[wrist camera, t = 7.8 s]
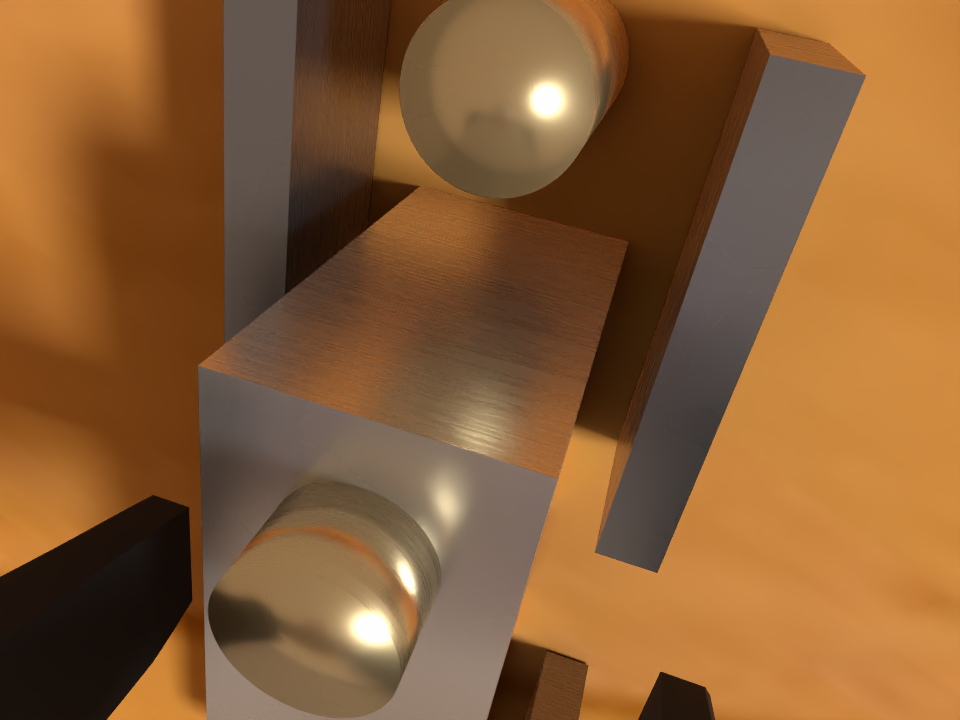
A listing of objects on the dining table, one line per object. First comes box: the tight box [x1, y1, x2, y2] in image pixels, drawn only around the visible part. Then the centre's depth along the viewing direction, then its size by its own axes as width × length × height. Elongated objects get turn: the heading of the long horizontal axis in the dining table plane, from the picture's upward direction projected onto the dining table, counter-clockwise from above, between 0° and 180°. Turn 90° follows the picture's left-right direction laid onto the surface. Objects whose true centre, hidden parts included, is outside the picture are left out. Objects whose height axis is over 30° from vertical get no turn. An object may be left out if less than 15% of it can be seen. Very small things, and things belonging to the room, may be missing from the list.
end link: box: [223, 0, 866, 573], centre depth 9 cm, size 6×6×3 cm
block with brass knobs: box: [198, 186, 628, 720], centre depth 11 cm, size 11×3×6 cm, turn 170°
